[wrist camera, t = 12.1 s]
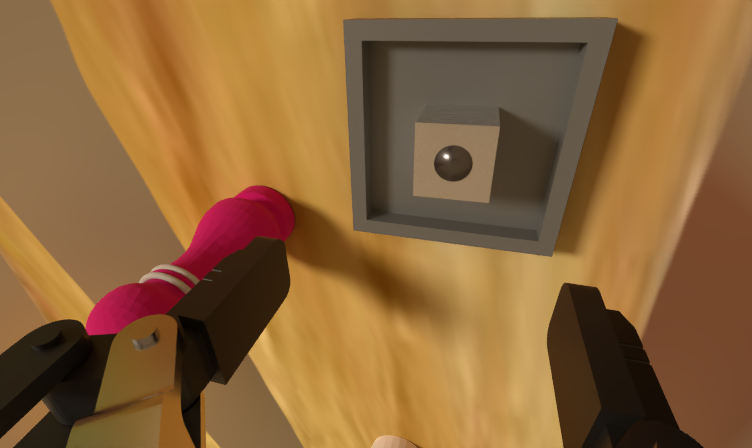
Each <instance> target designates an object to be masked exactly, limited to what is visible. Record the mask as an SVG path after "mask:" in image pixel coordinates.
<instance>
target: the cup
mask: <svg viewBox="0 0 752 448" xmlns="http://www.w3.org/2000/svg"><path fill="white" fill-rule="evenodd" d="M371 448H417V447H416V446H415V445H414V444H413V443H411V442H409V441H408V440H406V439H403V438H401V437H397V436H390V435H386V436H381V437H378V438H377V439H376V440H375V442H374V444H373V445H372V447H371Z"/></svg>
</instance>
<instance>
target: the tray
mask: <svg viewBox="0 0 752 448" xmlns="http://www.w3.org/2000/svg"><path fill="white" fill-rule="evenodd" d="M617 21H618V18H608V17H575V18H401V19H348V20H343V24H344V45H345V65H346V86H347V106H348V126H349V147H350V167H351V187H352V208H353V228H354V230H355V231H362V232H370V233H377V234H385V235H392V236H400V237H407V238H415V239H422V240H430V241H437V242H445V243H452V244H460V245H467V246H475V247H482V248H490V249H497V250H505V251H512V252H520V253H527V254H535V255H542V256H550V257H552V255H553V251H554V247H555V244H556V240H557V237H558V233H559V229H560V226H561V222H562V219H563V215H564V211H565V208H566V204H567V201H568V197H569V193H570V190H571V186H572V183H573V179H574V175H575V172H576V168H577V165H578V161H579V157H580V154H581V150H582V147H583V143H584V139H585V136H586V132H587V129H588V125H589V121H590V118H591V114H592V111H593V107H594V103H595V100H596V96H597V93H598V89H599V85H600V82H601V78H602V75H603V71H604V67H605V64H606V60H607V57H608V53H609V49H610V46H611V42H612V39H613V35H614V31H615V28H616V24H617ZM427 104H429V105H457V106H484V107H499V118H500V130H499V137H498V144H497V150H496V157H495V164H494V171H493V178H492V185H491V192H490V199H489V203H483V202H473V201H462V200H452V199H442V198H431V197H421V196H413V178H414V145H415V122H416V120H417V119H418V117H419V116H420V114H421V113H422V111H423V110H424V108H425V107H426V105H427Z"/></svg>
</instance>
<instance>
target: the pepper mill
mask: <svg viewBox="0 0 752 448" xmlns="http://www.w3.org/2000/svg"><path fill="white" fill-rule="evenodd" d="M294 225H295V218H294V213H293V211H292V208H291V206H290V204H289V203H288V202H287V201H286V199H285V198H284V197H283V196H282V195H281V194H279V193H278V192H276V191H275V190H273V189H271V188H268V187H265V186H251V187H248V188H246V189H245V190H243V191H242V192H241V193H239V194H238V195H237V196H235V197H234V198H227V199H224V200H222V201H219V202H218V203H216V204H215V205H214V206H213V207H212V208H211V209H209V210H208V211H207V212H206V213H205V215H204V216H203V218H202V220H201V221H200V223H199V224H198V227H197V229H196V232H195V235H194V237H193V240H192V242H191V245H190V247H189V248H188V249H187V251H186V252H185V253H184V254H183V255H182V256H181V257H180V258H178V259H177V260H176V261H174V262H173V263H171V264H170V265H168V264H164V265H159V266H157V267H155V268H154V269H152V270H151V272H150V273H149V274H146V275H144V276H143V277H142V278H141V280H140V282H139V283H132V284H127V285H123V286H120V287H118V288H116V289H114V290H113V291H111V292H109V293H108V294H107V295H106V296H104V298H102V299H101V300H100V301H99V302H98V303H97V304H96V305H95V307H94V308H93V310H92V311H91V313H90V315H89V317H88V320H87V323H86V331H87V333H88V334H89V335H102V334H116V333H119V332H120V331H121V330H122V329H123V328H124V327H126V326H127V325H129V324H130V323H132V322H134V321H136V320H138V319H140V318H143V317H146V316H150V315H158V314H162V315H165V314H166V313H167V312H168V311H169V310H170V309H171V308H172V307H173V306H174V305H176V304H177V303H178V302H179V301H180V300H181V299H182V298H183V297H184V296H185V295H186V294H187V293H188V292H189V291H190V290H191V289H192V288H193V287H194V286H195V285H196V284H197V283H198V282H199V281H200V280H203V278H204V277H205V276H206V275H207V274H208V273H209V272H210V271H212V269H213V268H214V267H215V266H216V265H217V264H218V263H219V262H220V261H221V260H222V259H223V258H225V257H226V256H228V255H230V254H232V253H234V252H236V251H237V250H239V249H240V250H243V249H244V248H245V247H246V246H247V245H248V244H249V243H250V242H251V241H252V240H253V239H254V238H255V237H257V236H262V237H269V238H275V239H281V240H282V241H283V242H284V241H285V240H286V239H287V238H288V237H289V236H290V234H291V233H292V231H293V229H294Z"/></svg>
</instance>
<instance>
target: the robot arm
mask: <svg viewBox="0 0 752 448" xmlns="http://www.w3.org/2000/svg"><path fill="white" fill-rule="evenodd" d="M289 288H290V274H289V268H288V262H287V255H286V249H285V244H284V242H283V241H282V240H281V239H275V238H269V237H262V236H257V237H255V238H254V239H253V240H252V241H251V242H250V243H249V244H248V245H247V246H246V247H245V248H244V249H243V250H240V249H239V250H237V251H236V252H234V253H232V254H230V255H228V256H226V257H225V258H223V259H222V260H221V261H220V262H219V263H218V264H217V265H216V266H215V267H214V268H213V269H212V271H210V272H209V273H208V274H207V275H206V276H205V277H204V278H203V280H200V281H199V282H198V283H197V284H196V285H195V286H194V287H193V288H192V289H191V290H190V291H189V292H188V293H187V294H186V295H185V296H184V297H183V298H182V299H181V300H180V301H179V302H178V303H177V304H176V305H174V306H173V307H172V308H171V309H170V310H169V311H168V312H167V313H166V314H165V315H162V314H158V315H150V316H146V317H143V318H140V319H138V320H136V321H134V322H132V323H130V324H129V325H127V326H126V327H124V328H123V329H122V330H121V331H120V332H119V333H116V334H102V335H89V334H88V333H87V331H86V329H85V327H84V326H83V324H82V323H81V322H79V321H77V320H71V319H68V320H59V321H55V322H52V323H49V324H46V325H44V326H41V327H39V328H37V329H35V330H34V331H32V332H30V333H29V334H27V335H26V336H24V337H23V338H22V339H20V340H19V341H18V342H17V343H15V344H14V345H12V346H11V347H10V348H9V349H7V350H6V351H5V352H3V353H2V354H1V355H0V439H1V437H2V436H3V435H5V434H6V433H7V431H9V430H10V429H11V428H12V427H13V426H14V425H15V424H16V423H17V422H18V421H19V420H20V419H21V418H23V417H24V416H25V415H26V414H27V413H28V412H29V411H30V410H31V409H32V408H33V407H34V406H35V405H36V404H37V403H38V402H39V401H41V400H42V401H43V402H44V404H45V405H46V406H47V408H48V409H49V410H50V412H49V413H48V414H47V415H46V416H45V417H44V418H43V419H42V420H41V421H40V422H39V423H38V424H37V425H36V426H35V427H34V428H32V429H31V430H30V432H29V433H28V434H26V436H24V437H23V439H21V440H20V442H18V443H17V444H16V445H15V446H14V447H13V448H206V425H205V394H204V391H203V390H204V388H205V387H206V386H207V384H208V383H209V381H212V382H216V383H220V384H224V385H226V384H227V383H228V381H229V379H230V378H231V377H232V375H233V374H234V372H235V371H236V369H237V368H238V367H239V365H240V364H241V362H242V361H243V359H244V357H245V356H246V355H247V354H248V352H249V351H250V349H251V348H252V346H253V345H254V343H255V342H256V340H257V339H258V338H259V336H260V335H261V333H262V332H263V330H264V329H265V327H266V326H267V324H268V323H269V322H270V320H271V319H272V317H273V316H274V314H275V313H276V311H277V310H278V309H279V307H280V306H281V304H282V303H283V301H284V300H285V298H286V297H287V294H288V292H289ZM547 348H548V355H549V361H550V367H551V373H552V379H553V385H554V391H555V398H556V404H557V410H558V416H559V422H560V428H561V434H562V440H563V447H564V448H704V447H703V446H702V445H701V444H700V443H698V442H697V441H696V440H695V439H693V438H692V437H691V436H689V435H688V434H687V433H685V432H683V431H682V430H680V428H679V427H678V424H677V422H676V420H675V418H674V415H673V413H672V411H671V408H670V406H669V404H668V402H667V399H666V398H665V395H664V393H663V390H662V388H661V386H660V384H659V381H658V379H657V377H656V374H655V372H654V370H653V368H652V366H651V365H650V364H649V363H650V361H649V359H648V356H647V354H646V352H645V350H643V345H642V343H641V340H640V338H639V336H638V334H637V331H636V329H635V327H634V326H633V325H632V324H631V323H630V322H629V321H628V320H627V319H626V318H625V317H624V316H623V315H622V314H621V313H620V312H619V311H615V310H609V309H606V307H605V305H604V302H603V299H602V297H601V294H600V291H599V289H598V288H597V287H591V286H584V285H577V284H571V283H564V284H563V285H562V287H561V290H560V293H559V296H558V299H557V302H556V305H555V308H554V311H553V314H552V317H551V320H550V323H549V327H548V334H547Z"/></svg>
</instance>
